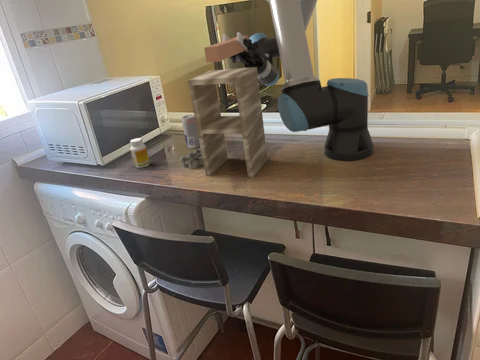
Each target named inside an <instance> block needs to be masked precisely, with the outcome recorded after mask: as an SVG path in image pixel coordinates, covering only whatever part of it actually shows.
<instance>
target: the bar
mask: <svg viewBox="0 0 480 360" xmlns="http://www.w3.org/2000/svg"><path fill="white" fill-rule="evenodd" d="M242 36H243V37H244V38H245V39H249V38H250V37H249V35H242ZM222 41H223V40H222ZM222 41H220V42H218V43H215V44H212V45H208V46H205V47H203V50H204V55H205V62H206V63H217V62H222V61H224V60H227V59H228V58H229V57H231V56H233V55H236V54H238V53H240V52H243V51H248V50H247V49H248V48H247V49H246V50H245V49H244V48H243V47H242V46H241V45H240V44H239V43H238V42H237V36H234V37H232V38H230V39H229V40H226V41H223V42H222ZM229 59H230V58H229Z"/></svg>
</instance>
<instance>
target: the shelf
mask: <svg viewBox="0 0 480 360" xmlns="http://www.w3.org/2000/svg"><path fill="white" fill-rule="evenodd" d="M187 83H188V84H187V85H188V88H189V94H190V99H191V103H192V109H193V115H195V121H196V126H197V131H198V137H199V142H200V146H199V148H200V147H201V152H202V158H203V163H204V164H203V167H204V172H205V176H206V177H207V176H209V177H211V175H213V174H214V173H215V172H216V171H217V170H218V169H220V167H221V166H222V165H223V164H224V163H225V162H226V161H227V160H228V151H227V145H226V137H225V135H230V134H231V135H232V134H233V135H236V134H237V135H239V134H241V136H242V143H243V149H244V156H245V164H246V165H245V167H246V173H247V178H251V179H253V178H254V177H255V175H256V174H257V173H258V172H259V171H260V169H261V168H262V167H263V166H264V165H265V163H266V162H267V161H268V152H267V145H266V144H267V143H266V135H265V127H264V119H263V109H262V99H261V91H260V81H259V80H258V72H257V67H251V68H246V67H241V68H228V69H215V70H214V69H211V70H208V71H206V72H204V73H201V74H199V75H197V76H195V77H193V78H190V79H188V80H187ZM224 84H234V86H235V94H236V99H237V108H238V114H239V115H222V114H221V107H220V100H219V95H218V89H217V85H224Z"/></svg>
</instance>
